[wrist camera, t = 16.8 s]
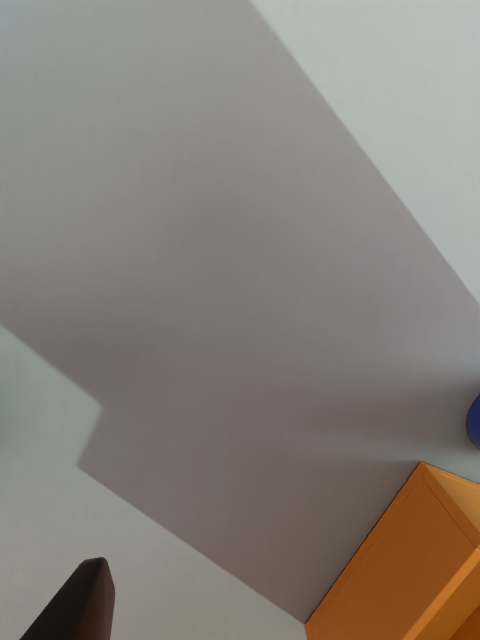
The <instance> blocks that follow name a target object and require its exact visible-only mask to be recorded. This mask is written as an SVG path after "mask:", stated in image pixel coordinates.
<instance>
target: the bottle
mask: <svg viewBox="0 0 480 640" xmlns="http://www.w3.org/2000/svg"><path fill="white" fill-rule="evenodd" d="M467 431H468V435H469V437H470V439H471V441H472V442H473V443H474V444H475V445H476V446H477V447H478V448H479V449H480V396H479V397H478V398H477V399H476V401H475V402H474V404H473V405H472V407H471V409H470V411H469V414H468V418H467Z"/></svg>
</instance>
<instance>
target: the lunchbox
mask: <svg viewBox="0 0 480 640" xmlns="http://www.w3.org/2000/svg"><path fill="white" fill-rule="evenodd" d="M305 631H306V635H307V640H480V485H479V484H477V483H474V482H472V481H469V480H467V479H464V478H462V477H459V476H457V475H454V474H452V473H449V472H446V471H444V470H441V469H439V468H436V467H434V466H431V465H429V464H426V463H424V462H420V464H419V465H418V466H417V468H416V469H415V471H414V472H413V473H412V475H411V476H410V478H409V479H408V481H407V482H406V483H405V485H404V486H403V488H402V489H401V490H400V492H399V493H398V495H397V496H396V497H395V499H394V500H393V502H392V503H391V504H390V506H389V507H388V509H387V510H386V512H385V513H384V514H383V516H382V517H381V519H380V520H379V521H378V523H377V524H376V526H375V527H374V528H373V530H372V531H371V533H370V534H369V535H368V537H367V538H366V540H365V541H364V543H363V544H362V545H361V547H360V548H359V550H358V551H357V552H356V554H355V555H354V557H353V558H352V559H351V561H350V562H349V564H348V565H347V566H346V568H345V569H344V571H343V572H342V574H341V575H340V576H339V578H338V579H337V581H336V582H335V583H334V585H333V586H332V588H331V589H330V590H329V592H328V593H327V595H326V596H325V598H324V599H323V600H322V602H321V603H320V605H319V606H318V607H317V609H316V610H315V612H314V613H313V614H312V616H311V617H310V619H309V620H308V621H307V623H306V624H305Z"/></svg>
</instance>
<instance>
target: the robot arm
mask: <svg viewBox="0 0 480 640" xmlns="http://www.w3.org/2000/svg"><path fill="white" fill-rule="evenodd" d="M114 603H115V587H114V583H113V580H112V576H111V573H110V569H109V566H108V562H107V560H106V559H105V558H104V557H99V558H93V559H87V560H84V561H83V562H82V563H81V564H80V565H79V566H78V567H77V569H76V570H75V571H74V572H73V574H72V575H71V576H70V577H69V579H68V580H67V581H66V582H65V584H64V585H63V586H62V587H61V589H60V590H59V591H58V592H57V594H56V595H55V596H54V597H53V599H52V600H51V601H50V602H49V604H48V605H47V606H46V607H45V609H44V610H43V611H42V612H41V614H40V615H39V616H38V617H37V619H36V620H35V621H34V622H33V624H32V625H31V626H30V627H29V629H28V630H27V631H26V632H25V634H24V635H23V636H22V637H21V639H20V640H110V635H111V627H112V619H113V611H114Z"/></svg>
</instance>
